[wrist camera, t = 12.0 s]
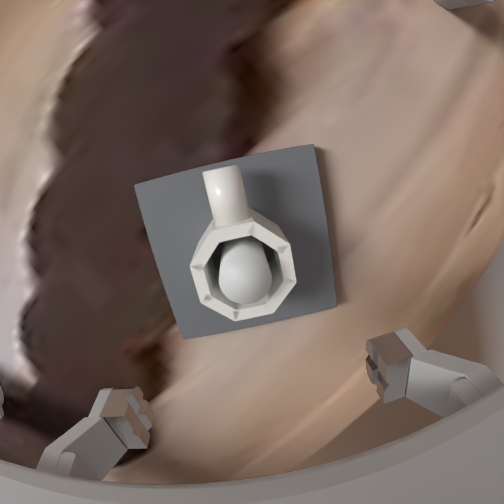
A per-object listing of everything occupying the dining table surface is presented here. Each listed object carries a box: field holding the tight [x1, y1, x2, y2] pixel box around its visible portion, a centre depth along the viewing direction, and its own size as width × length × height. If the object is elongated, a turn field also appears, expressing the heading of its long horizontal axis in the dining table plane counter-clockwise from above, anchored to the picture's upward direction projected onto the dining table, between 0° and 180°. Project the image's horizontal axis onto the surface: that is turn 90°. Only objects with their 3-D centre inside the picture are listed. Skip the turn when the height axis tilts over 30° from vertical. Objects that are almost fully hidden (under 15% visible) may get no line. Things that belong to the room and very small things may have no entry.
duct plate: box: [134, 144, 337, 340], centre depth 22 cm, size 14×14×8 cm
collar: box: [190, 164, 296, 321], centre depth 21 cm, size 10×6×5 cm, turn 12°
